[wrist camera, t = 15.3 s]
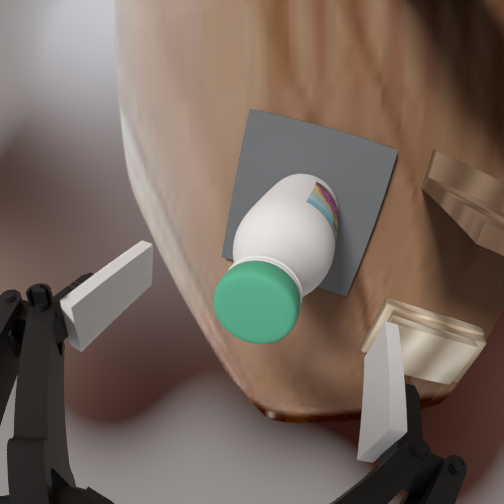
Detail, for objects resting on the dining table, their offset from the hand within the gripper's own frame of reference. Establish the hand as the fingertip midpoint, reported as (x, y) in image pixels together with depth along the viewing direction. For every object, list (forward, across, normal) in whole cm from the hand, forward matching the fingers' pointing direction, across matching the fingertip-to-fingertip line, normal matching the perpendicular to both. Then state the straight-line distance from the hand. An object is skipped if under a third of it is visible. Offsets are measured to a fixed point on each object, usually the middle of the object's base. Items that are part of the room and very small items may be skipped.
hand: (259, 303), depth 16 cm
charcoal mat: (+20, 0, -1) cm, 20 cm away
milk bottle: (+20, 0, -1) cm, 20 cm away
